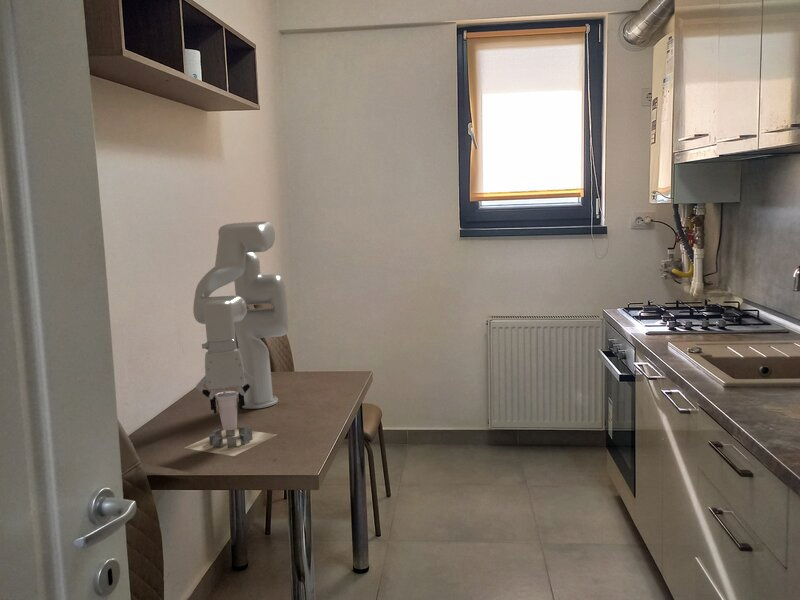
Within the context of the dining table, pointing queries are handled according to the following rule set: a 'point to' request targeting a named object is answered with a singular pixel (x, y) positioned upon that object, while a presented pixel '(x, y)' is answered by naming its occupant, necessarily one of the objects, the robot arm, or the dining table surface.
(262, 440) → the socket plate
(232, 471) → the dining table surface
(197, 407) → the dining table surface
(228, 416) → the smoothie
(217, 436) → the grey blocks
